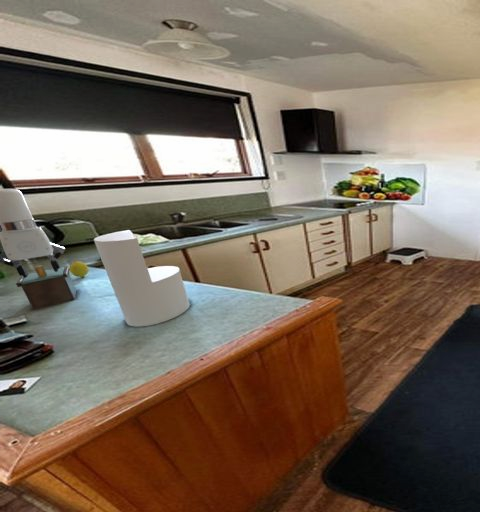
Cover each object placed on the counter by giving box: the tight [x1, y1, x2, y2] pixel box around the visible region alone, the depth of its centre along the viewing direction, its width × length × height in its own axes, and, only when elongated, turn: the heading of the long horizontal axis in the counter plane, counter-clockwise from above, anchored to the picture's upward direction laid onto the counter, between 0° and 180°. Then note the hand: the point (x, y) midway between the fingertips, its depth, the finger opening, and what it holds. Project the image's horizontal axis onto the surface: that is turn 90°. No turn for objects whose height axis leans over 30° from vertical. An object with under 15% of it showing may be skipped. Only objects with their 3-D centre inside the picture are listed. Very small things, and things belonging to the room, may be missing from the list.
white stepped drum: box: [93, 229, 191, 327], centre depth 89 cm, size 17×17×28 cm
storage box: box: [15, 265, 77, 311], centre depth 103 cm, size 12×12×11 cm
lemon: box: [69, 260, 89, 278], centre depth 125 cm, size 6×6×8 cm
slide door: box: [21, 264, 66, 284], centre depth 101 cm, size 10×11×5 cm
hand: (41, 273), depth 99 cm, fingers open, 6 cm apart
